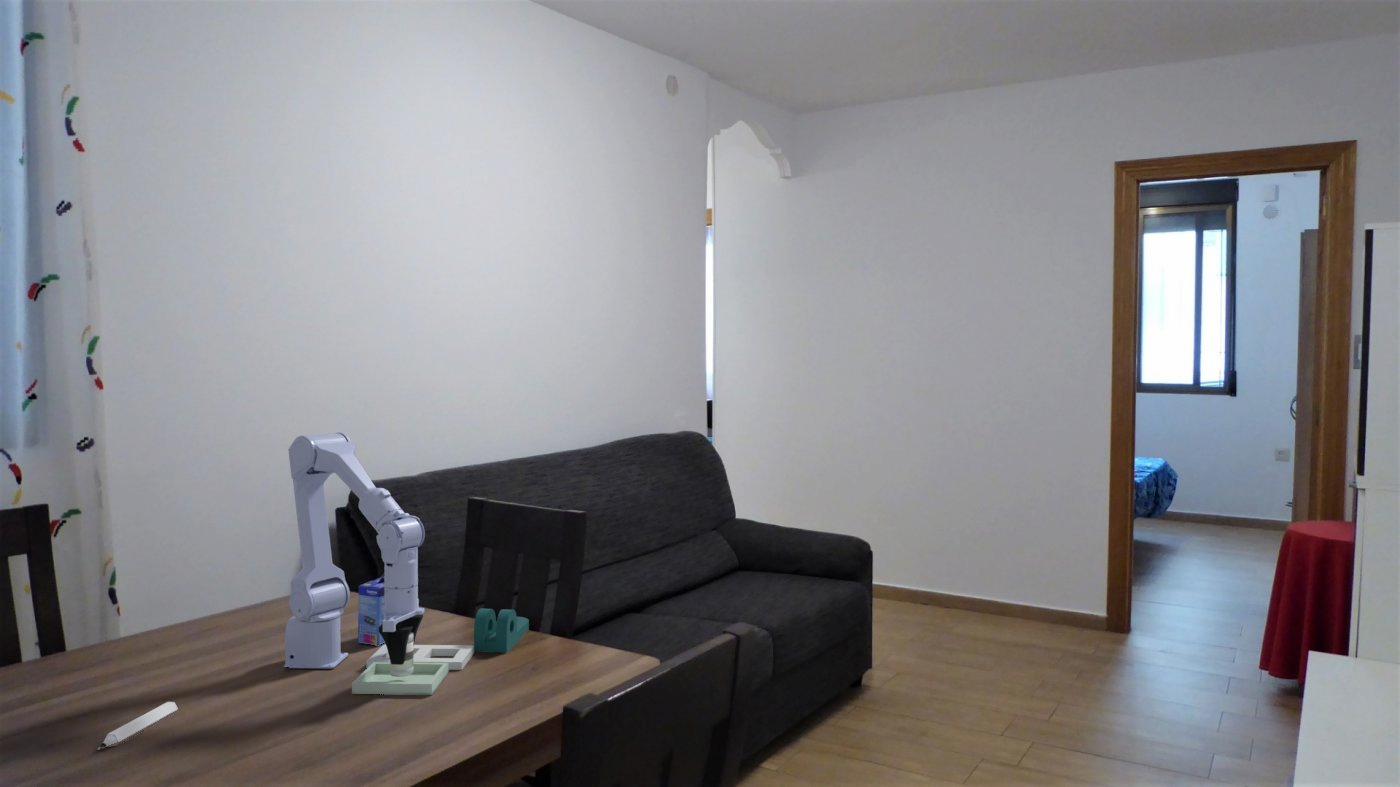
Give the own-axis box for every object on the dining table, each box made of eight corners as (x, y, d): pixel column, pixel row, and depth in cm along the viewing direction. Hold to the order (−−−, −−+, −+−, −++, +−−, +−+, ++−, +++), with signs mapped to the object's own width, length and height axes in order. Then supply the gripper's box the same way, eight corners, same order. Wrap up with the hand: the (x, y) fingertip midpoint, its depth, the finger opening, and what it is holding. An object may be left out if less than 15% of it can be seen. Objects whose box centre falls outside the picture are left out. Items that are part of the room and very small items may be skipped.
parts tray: (351, 694, 165) (351, 683, 165) (373, 672, 176) (373, 662, 176) (431, 695, 165) (431, 684, 165) (448, 673, 176) (448, 663, 176)
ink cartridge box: (379, 647, 191) (379, 576, 191) (356, 644, 193) (355, 574, 192) (408, 633, 201) (408, 565, 200) (385, 630, 202) (385, 563, 202)
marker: (96, 760, 141) (169, 717, 157) (107, 754, 140) (179, 711, 156) (87, 744, 141) (162, 703, 157) (98, 738, 140) (172, 698, 156)
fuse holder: (366, 669, 178) (366, 661, 178) (383, 651, 188) (383, 644, 188) (461, 670, 178) (461, 662, 178) (474, 652, 188) (474, 645, 188)
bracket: (506, 654, 189) (506, 615, 188) (474, 652, 189) (473, 613, 189) (532, 627, 206) (532, 591, 206) (502, 626, 207) (502, 590, 207)
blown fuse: (387, 676, 169) (386, 638, 168) (394, 669, 173) (394, 631, 172) (409, 677, 169) (409, 638, 168) (416, 669, 173) (416, 631, 172)
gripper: (411, 596, 163) (411, 673, 163) (434, 575, 177) (434, 647, 178) (370, 595, 163) (370, 673, 163) (397, 575, 177) (397, 646, 178)
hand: (401, 659), depth 171 cm, fingers closed on blown fuse, 4 cm apart
